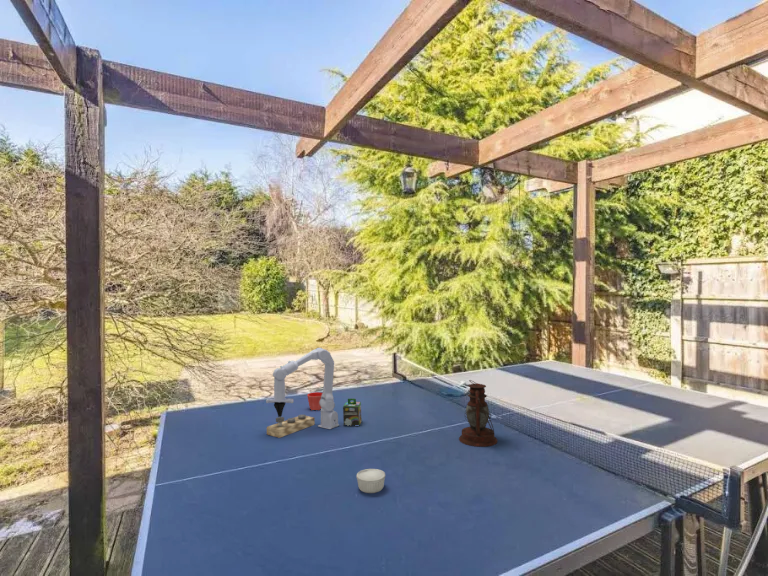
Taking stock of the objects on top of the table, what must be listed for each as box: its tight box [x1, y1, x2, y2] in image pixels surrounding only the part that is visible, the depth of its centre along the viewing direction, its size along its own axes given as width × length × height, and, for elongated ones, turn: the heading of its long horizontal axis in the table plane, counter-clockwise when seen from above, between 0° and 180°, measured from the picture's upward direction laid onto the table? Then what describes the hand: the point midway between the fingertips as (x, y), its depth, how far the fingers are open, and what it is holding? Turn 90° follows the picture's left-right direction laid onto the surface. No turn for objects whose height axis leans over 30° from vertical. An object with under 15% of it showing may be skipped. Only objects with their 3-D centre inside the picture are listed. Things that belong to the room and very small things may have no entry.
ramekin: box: [356, 468, 386, 494], centre depth 165 cm, size 11×11×5 cm
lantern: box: [458, 379, 498, 448], centre depth 215 cm, size 19×19×30 cm
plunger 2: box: [287, 417, 295, 423], centre depth 236 cm, size 4×4×5 cm
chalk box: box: [342, 398, 363, 427], centre depth 244 cm, size 9×9×15 cm
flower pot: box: [307, 391, 323, 411], centre depth 276 cm, size 11×11×10 cm
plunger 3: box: [297, 414, 307, 419], centre depth 243 cm, size 4×4×5 cm
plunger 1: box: [275, 416, 285, 427], centre depth 230 cm, size 4×4×5 cm
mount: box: [266, 415, 316, 439], centre depth 236 cm, size 26×10×4 cm, turn 145°
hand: (280, 416), depth 230 cm, fingers closed
